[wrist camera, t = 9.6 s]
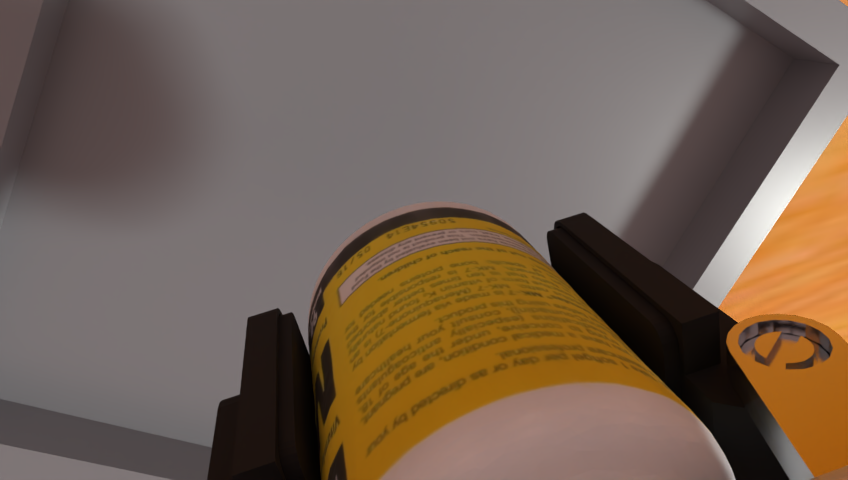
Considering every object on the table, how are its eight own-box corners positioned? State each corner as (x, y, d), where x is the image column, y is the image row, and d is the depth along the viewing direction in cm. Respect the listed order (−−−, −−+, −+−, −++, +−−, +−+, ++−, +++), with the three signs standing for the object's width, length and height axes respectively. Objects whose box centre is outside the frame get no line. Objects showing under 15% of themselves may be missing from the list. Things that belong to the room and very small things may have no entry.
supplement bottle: (262, 258, 11) (226, 843, 3) (500, 155, 11) (950, 493, 4) (363, 444, 13) (482, 1073, 6) (564, 354, 13) (941, 835, 6)
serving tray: (137, -443, 12) (105, -539, 10) (824, 35, 19) (896, 42, 16) (-94, 394, 17) (-150, 454, 15) (510, 528, 24) (533, 582, 22)
